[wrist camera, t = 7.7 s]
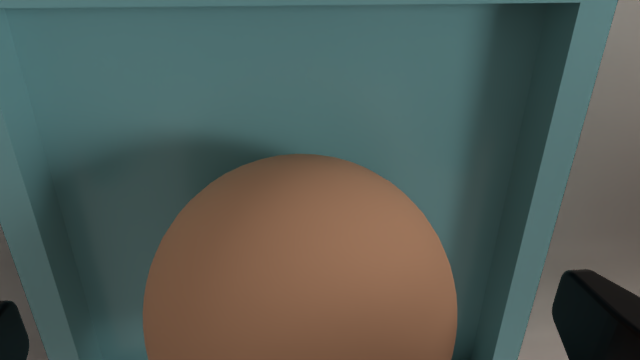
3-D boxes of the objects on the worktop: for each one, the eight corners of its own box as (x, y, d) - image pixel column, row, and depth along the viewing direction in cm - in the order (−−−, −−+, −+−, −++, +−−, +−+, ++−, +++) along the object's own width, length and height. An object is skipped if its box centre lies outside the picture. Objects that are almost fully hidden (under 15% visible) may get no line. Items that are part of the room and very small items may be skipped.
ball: (454, 230, 11) (572, 444, 7) (275, 342, 13) (283, 585, 8) (318, 51, 9) (370, 206, 5) (114, 207, 10) (9, 445, 6)
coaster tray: (577, -52, 9) (629, -40, 8) (482, 357, 14) (504, 405, 13) (-37, -51, 8) (-92, -38, 7) (94, 384, 13) (76, 438, 12)
